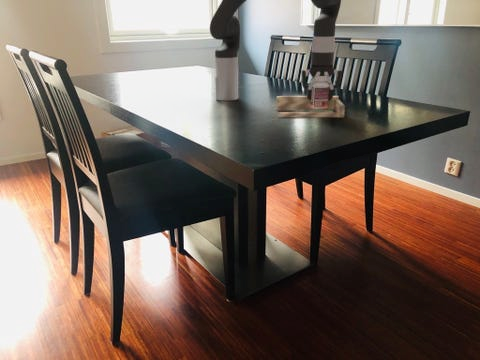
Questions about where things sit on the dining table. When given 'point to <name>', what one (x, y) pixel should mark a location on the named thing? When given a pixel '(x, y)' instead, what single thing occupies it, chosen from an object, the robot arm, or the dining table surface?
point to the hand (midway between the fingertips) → (319, 99)
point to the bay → (308, 107)
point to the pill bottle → (320, 93)
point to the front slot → (320, 110)
